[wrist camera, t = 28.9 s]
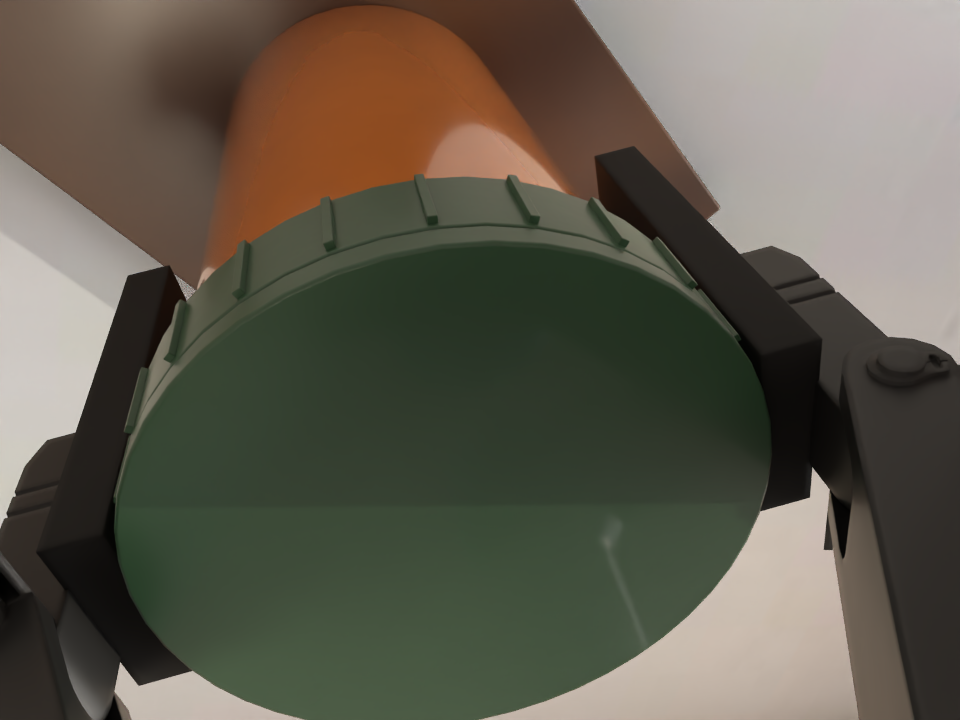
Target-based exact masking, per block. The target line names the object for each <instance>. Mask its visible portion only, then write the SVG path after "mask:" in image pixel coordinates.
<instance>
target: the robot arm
mask: <svg viewBox="0 0 960 720" xmlns="http://www.w3.org/2000/svg"><path fill="white" fill-rule="evenodd" d="M594 157H595V166H596V176H597V185H598V195H599V201H600V202H601V204H602V205H603V206H604V208H605V209H606V210H607V211H608V212H610V213H612V214H614V215H616V216H618V217H619V218H621V219H623V220H625V221H626V222H628V223H629V224H630V225H632V226H633V227H634V228H636V229H637V230H638V231H640V232H641V233H642V234H644V235H645V236H646V237H648V238H649V239H650V240H652V241H653V240H654V239H655V238H656V237H658V238H659V239H660V240H661V241H662V242H663V243H664V244H665V245H666V246H667V248H668V249H669V250H670V251H671V252H672V254H673V255H674V256H675V257H676V259H677V260H678V261H679V262H680V263H681V265H682V266H683V267H684V268H685V269H686V271H687V272H688V273H689V274H690V275H691V277H692V278H693V279H694V280H695V281H696V283H697V284H698V285H697V286H696V287H695V289H696V290H699V289H701V290H702V291H703V292H704V293H705V295H706V296H707V297H708V298H709V300H710V301H711V302H712V303H713V304H714V306H715V307H716V308H717V309H718V310H719V312H720V313H721V314H722V315H723V316H724V318H725V319H726V320H727V321H728V323H729V324H730V325H731V326H732V327H733V329H734V330H735V331H736V332H737V333H738V335H739V337H740V339H741V340H740V341H738V343H739V345H740V346H741V348H742V349H743V351H744V352H745V354H746V355H747V357H748V358H749V360H750V361H751V363H752V365H753V368H754V370H755V372H756V375H757V377H758V379H759V382H760V384H761V386H762V389H763V391H764V395H765V399H766V404H767V408H768V413H769V417H770V422H771V444H772V457H771V465H770V473H769V480H768V486H767V489H766V493H765V496H764V499H763V503H762V506H761V510H760V511H763V510H767V509H770V508H774V507H777V506H781V505H785V504H788V503H792V502H795V501H799V500H802V499H806V498H810V488H811V476H812V467H813V468H814V470H815V471H816V472H817V474H818V475H819V476H820V477H821V479H822V480H823V481H824V483H825V484H826V485H827V486H828V488H829V489H830V493H829V503H828V513H827V523H826V533H825V543H824V550H833V551H834V558H835V564H836V571H837V577H838V584H839V590H840V597H841V603H842V610H843V616H844V623H845V629H846V636H847V642H848V649H849V656H850V662H851V669H852V675H853V682H854V688H855V695H856V701H857V708H858V714H859V720H960V365H957V363H956V362H955V361H954V359H953V358H952V357H951V355H949V354H947V353H946V352H944V351H942V350H941V349H939V348H938V347H936V346H934V345H931V344H928V343H925V342H921V341H918V340H915V339H908V338H896V337H887V336H886V335H885V334H884V333H883V332H882V331H881V330H880V329H878V328H877V327H876V326H875V325H874V324H873V323H872V322H871V321H870V320H869V319H867V318H866V317H865V316H864V315H863V314H862V313H861V312H860V311H859V310H858V309H856V308H855V307H854V306H853V305H852V304H851V303H850V302H849V301H848V300H847V299H845V298H844V297H843V296H842V295H841V294H840V293H839V292H837V293H836V292H835V289H834V288H833V287H832V286H831V285H830V284H829V283H828V282H827V281H826V280H825V279H823V278H821V279H820V277H819V274H818V273H817V272H816V271H815V270H814V269H812V268H811V267H810V266H809V265H808V264H807V263H806V262H805V261H804V260H803V259H801V258H800V257H798V256H795V255H793V254H790V253H788V252H785V251H783V250H780V249H778V248H775V247H773V246H769V247H766V248H762V249H758V250H754V251H751V252H747V253H743V254H739V253H738V252H737V251H736V250H735V249H734V248H733V247H732V246H731V245H730V244H729V243H728V242H727V241H726V239H725V238H724V237H723V236H722V235H721V234H720V233H719V232H718V231H717V230H716V229H715V228H714V227H713V226H712V225H711V224H710V223H709V222H708V221H707V220H706V219H705V218H704V217H703V216H702V215H701V214H700V213H699V212H698V211H697V210H696V209H695V208H694V207H693V206H692V205H691V204H690V203H689V202H688V201H687V200H686V199H685V198H684V196H683V195H682V194H681V193H680V192H679V191H678V190H677V189H676V188H675V187H674V186H673V185H672V184H671V183H670V182H669V181H668V180H667V179H666V178H665V177H664V176H663V175H662V174H661V173H660V172H659V171H658V170H657V169H656V168H655V167H654V166H653V165H652V164H651V163H650V162H649V161H648V160H647V159H646V158H645V157H644V156H643V155H642V153H641V152H640V151H639V150H638V149H637V148H636V147H635V146H631V147H628V148H624V149H620V150H616V151H612V152H608V153H604V154H600V155H596V156H594ZM180 299H181V300H183V301H185V302H187V300H186V298H185V296H184V294H183V292H182V290H181V288H180V286H179V284H178V281H177V279H176V277H175V275H174V273H173V271H172V269H171V267H170V265H168V266H164V267H160V268H156V269H152V270H148V271H145V272H141V273H137V274H133V275H129V276H128V277H127V280H126V283H125V286H124V289H123V292H122V295H121V298H120V301H119V304H118V307H117V310H116V313H115V316H114V319H113V322H112V325H111V328H110V331H109V334H108V337H107V340H106V343H105V346H104V349H103V352H102V355H101V358H100V361H99V364H98V367H97V370H96V373H95V376H94V379H93V382H92V385H91V388H90V391H89V394H88V397H87V400H86V403H85V406H84V409H83V412H82V415H81V418H80V421H79V424H78V427H77V430H76V433H72V434H69V435H65V436H61V437H57V438H53V439H50V440H47V441H46V442H45V443H44V444H43V446H42V447H41V448H40V449H39V450H38V451H37V453H36V454H35V455H34V456H33V457H32V459H31V460H30V461H29V462H28V463H27V464H26V466H25V467H24V470H23V472H22V475H21V477H20V480H19V482H18V485H17V488H16V490H15V494H16V497H13V498H12V500H11V503H10V505H9V508H8V511H7V516H8V517H7V518H5V519H4V521H3V523H2V526H1V528H0V720H131V717H130V714H129V711H128V709H127V708H126V706H125V705H124V704H123V702H122V701H121V699H120V698H119V697H118V696H117V695H116V693H115V692H114V690H115V685H116V680H117V675H118V670H119V665H120V662H121V663H122V665H123V666H124V667H125V669H126V670H127V671H128V673H129V674H130V675H131V676H132V678H133V679H134V680H135V682H136V683H137V684H138V685H139V686H140V685H143V684H147V683H151V682H154V681H158V680H161V679H165V678H168V677H172V676H176V675H179V674H183V673H186V672H190V671H192V670H191V669H189V668H188V667H187V666H186V665H185V664H184V663H183V662H181V661H180V660H179V659H178V658H177V657H176V656H175V655H174V654H172V653H171V652H170V651H169V650H168V649H167V648H166V647H165V646H164V645H163V644H162V643H161V641H160V640H159V639H158V638H157V636H156V635H155V634H154V633H153V632H152V630H151V629H150V628H149V627H148V625H147V624H146V623H145V621H144V620H143V618H142V616H141V614H140V613H139V611H138V609H137V607H136V605H135V604H134V602H133V600H132V598H131V597H130V595H129V592H128V589H127V586H126V583H125V580H124V577H123V574H122V571H121V569H120V566H119V563H118V556H117V549H116V541H115V534H114V520H115V504H116V503H114V498H113V497H114V493H115V489H116V485H117V481H118V477H119V473H120V469H121V465H122V462H123V458H124V454H125V450H126V446H127V442H128V438H129V436H130V435H131V434H130V433H125V432H124V429H125V425H126V421H127V417H128V414H129V410H130V406H131V402H132V399H133V395H134V391H135V388H136V384H137V380H138V376H139V373H140V370H141V368H142V367H143V368H147V369H148V368H149V366H150V364H151V362H152V360H153V357H154V355H155V353H156V351H157V348H158V346H159V344H160V342H161V340H162V337H163V335H164V334H165V332H166V331H167V329H168V328H169V326H170V325H171V323H172V319H173V314H174V310H175V306H176V304H177V303H178V301H179V300H180Z"/></svg>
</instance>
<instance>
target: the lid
mask: <svg viewBox="0 0 960 720" xmlns="http://www.w3.org/2000/svg"><path fill="white" fill-rule="evenodd" d="M697 285H698V284H697V283H696V281H695V280H694V279H693V278H692V277H691V275H690V274H689V273H688V272H687V271H686V269H685V268H684V267H683V266H682V265H681V263H680V262H679V261H678V260H677V259H676V257H675V256H674V255H673V254H672V252H671V251H670V250H669V249H668V248H667V246H666V245H665V244H664V243H663V242H662V241H661V240H660V239H659V238H658V237H656V238H655V239H654V240H653V241H652V240H650V239H649V238H648V237H646V236H645V235H644V234H642V233H641V232H640V231H638V230H637V229H636V228H634V227H633V226H632V225H630V224H629V223H628V222H626V221H625V220H623V219H621V218H619V217H618V216H616V215H614V214H612V213H610V212H608V211H607V210H606V209H605V208H604V206H603V205H602V204H601V202H600V201H599V200H598V199H596V198H594V197H591V198H590V200H589V201H586V200H583V199H580V198H577V197H575V196H572V195H569V194H566V193H563V192H560V191H558V190H555V189H552V188H547V187H542V186H538V185H533V184H528V183H523V182H520V181H519V179H518V177H517V176H516V175H508V176H507V180H506V179H493V178H479V177H447V178H428V179H425V177H424V174H415V175H414V180H410V181H405V182H399V183H394V184H388V185H383V186H377V187H372V188H369V189H366V190H362V191H359V192H356V193H353V194H350V195H346V196H343V197H340V198H337V199H334V200H331V199H330V197H329V196H326V197H324V198H321V199H320V205H318V206H316V207H314V208H312V209H310V210H307V211H305V212H303V213H301V214H299V215H297V216H294V217H292V218H290V219H288V220H286V221H284V222H282V223H281V224H279V225H277V226H276V227H274V228H272V229H271V230H269V231H268V232H266V233H264V234H263V235H261V236H260V237H258V238H256V239H255V240H253V241H252V242H250V243H248V242H247V241H246V240H243V241H242V242H240V243H239V244H238V245H237V253H236V254H235V255H233V256H232V257H231V258H230V259H229V260H227V261H226V262H225V263H224V264H223V265H221V266H220V267H219V268H218V269H216V270H215V271H214V272H213V273H212V274H211V275H210V276H209V277H208V278H207V279H206V281H205V282H204V283H203V284H202V285H201V286H200V287H199V288H198V289H197V290H196V292H195V293H194V294H193V295H192V296H191V297H190V298H189V299H188V300H187V302H185V301H183V300H181V299H180V300H179V301H178V303H177V304H176V306H175V310H174V314H173V319H172V323H171V325H170V326H169V328H168V329H167V331H166V332H165V334H164V335H163V337H162V340H161V342H160V344H159V346H158V348H157V351H156V353H155V355H154V357H153V360H152V362H151V364H150V366H149V368H148V369H147V368H143V367H142V368H141V370H140V373H139V376H138V380H137V384H136V388H135V391H134V395H133V399H132V402H131V406H130V410H129V414H128V417H127V421H126V425H125V429H124V432H125V433H130V434H131V435H130V436H129V438H128V442H127V446H126V450H125V454H124V458H123V462H122V465H121V469H120V473H119V477H118V481H117V485H116V489H115V493H114V497H113V498H114V503H116V504H115V520H114V534H115V541H116V549H117V556H118V563H119V566H120V569H121V571H122V574H123V577H124V580H125V583H126V586H127V589H128V592H129V595H130V597H131V598H132V600H133V602H134V604H135V605H136V607H137V609H138V611H139V613H140V614H141V616H142V618H143V620H144V621H145V623H146V624H147V625H148V627H149V628H150V629H151V630H152V632H153V633H154V634H155V635H156V636H157V638H158V639H159V640H160V641H161V643H162V644H163V645H164V646H165V647H166V648H167V649H168V650H169V651H170V652H171V653H172V654H174V655H175V656H176V657H177V658H178V659H179V660H180V661H181V662H183V663H184V664H185V665H186V666H187V667H188V668H189V669H191V670H192V671H194V672H195V673H197V674H198V675H200V676H201V677H203V678H204V679H206V680H207V681H209V682H210V683H212V684H213V685H215V686H217V687H218V688H220V689H222V690H224V691H226V692H228V693H230V694H232V695H234V696H236V697H238V698H240V699H242V700H244V701H247V702H250V703H252V704H255V705H258V706H261V707H263V708H266V709H269V710H271V711H274V712H277V713H281V714H285V715H289V716H293V717H297V718H301V719H304V720H479V719H484V718H488V717H492V716H496V715H500V714H504V713H509V712H513V711H516V710H519V709H522V708H525V707H528V706H532V705H535V704H538V703H541V702H544V701H547V700H549V699H552V698H554V697H557V696H559V695H562V694H564V693H567V692H569V691H572V690H574V689H577V688H579V687H581V686H583V685H585V684H587V683H589V682H591V681H593V680H595V679H597V678H599V677H601V676H603V675H605V674H607V673H609V672H611V671H612V670H614V669H616V668H617V667H619V666H621V665H622V664H624V663H626V662H628V661H629V660H631V659H633V658H634V657H636V656H637V655H639V654H640V653H642V652H643V651H644V650H646V649H647V648H649V647H650V646H651V645H653V644H654V643H656V642H657V641H658V640H660V639H661V638H663V637H664V636H665V635H666V634H668V633H669V632H670V631H671V630H672V629H673V628H675V627H676V626H677V625H678V624H679V623H680V622H682V621H683V620H684V619H685V618H686V617H687V616H689V615H690V614H691V613H692V611H693V610H694V609H695V608H696V607H697V606H698V605H699V604H700V603H701V602H702V601H703V600H704V599H705V598H706V597H707V596H708V595H709V594H710V593H711V592H712V590H713V589H714V588H715V587H716V585H717V584H718V583H719V582H720V580H721V579H722V578H723V576H724V575H725V574H726V573H727V571H728V570H729V569H730V567H731V566H732V564H733V563H734V561H735V559H736V558H737V556H738V555H739V553H740V551H741V550H742V548H743V546H744V545H745V543H746V541H747V540H748V537H749V535H750V533H751V531H752V528H753V526H754V524H755V522H756V520H757V517H758V515H759V513H760V510H761V506H762V503H763V499H764V496H765V493H766V489H767V486H768V480H769V473H770V465H771V457H772V444H771V422H770V417H769V413H768V408H767V404H766V399H765V395H764V391H763V389H762V386H761V384H760V382H759V379H758V377H757V375H756V372H755V370H754V368H753V365H752V363H751V361H750V360H749V358H748V357H747V355H746V354H745V352H744V351H743V349H742V348H741V346H740V345H739V343H738V341H740V340H741V339H740V337H739V335H738V333H737V332H736V331H735V330H734V329H733V327H732V326H731V325H730V324H729V323H728V321H727V320H726V319H725V318H724V316H723V315H722V314H721V313H720V312H719V310H718V309H717V308H716V307H715V306H714V304H713V303H712V302H711V301H710V300H709V298H708V297H707V296H706V295H705V293H704V292H703V291H702V290H701V289H699V290H696V289H695V287H696V286H697Z"/></svg>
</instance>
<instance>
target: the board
mask: <svg viewBox="0 0 960 720" xmlns="http://www.w3.org/2000/svg"><path fill="white" fill-rule="evenodd" d="M352 5H379V6H389V7H395V8H399V9H403V10H407V11H411V12H414V13H417V14H419V15H422V16H424V17H427V18H429V19H432V20H433V21H435V22H437V23H439V24H440V25H442V26H444V27H446V28H447V29H449V30H450V31H452V32H453V33H454V34H455V35H457V36H458V37H459V38H461V39H462V40H463V41H464V42H465V43H466V44H467V45H468V46H469V47H470V48H471V49H472V50H473V51H474V52H475V53H476V54H477V55H478V56H479V58H480V59H481V60H482V62H483V63H484V64H485V66H486V67H487V68H488V70H489V71H490V73H491V74H492V75H493V77H494V78H495V79H496V81H497V82H498V84H499V85H500V86H501V88H502V89H503V91H504V92H505V93H506V95H507V96H508V97H509V99H510V100H511V102H512V103H513V104H514V106H515V107H516V109H517V110H518V111H519V113H520V114H521V116H522V117H523V118H524V120H525V121H526V122H527V124H528V125H529V127H530V128H531V129H532V131H533V132H534V134H535V135H536V136H537V138H538V139H539V140H540V142H541V143H542V145H543V146H544V147H545V149H546V150H547V152H548V153H549V154H550V156H551V157H552V159H553V160H554V161H555V163H556V164H557V165H558V167H559V168H560V170H561V171H562V172H563V174H564V175H565V177H566V178H567V179H568V181H569V182H570V183H571V185H572V186H573V188H574V189H575V190H576V192H577V193H578V195H579V196H580V197H581V199H583V200H586V201H589V200H590V198H591V197H594V198H596V199H598V200H599V195H598V185H597V176H596V166H595V157H594V156H596V155H600V154H604V153H608V152H612V151H616V150H620V149H624V148H628V147H631V146H635V147H636V148H637V149H638V150H639V151H640V152H641V153H642V155H643V156H644V157H645V158H646V159H647V160H648V161H649V162H650V163H651V164H652V165H653V166H654V167H655V168H656V169H657V170H658V171H659V172H660V173H661V174H662V175H663V176H664V177H665V178H666V179H667V180H668V181H669V182H670V183H671V184H672V185H673V186H674V187H675V188H676V189H677V190H678V191H679V192H680V193H681V194H682V195H683V196H684V198H685V199H686V200H687V201H688V202H689V203H690V204H691V205H692V206H693V207H694V208H695V209H696V210H697V211H698V212H699V213H700V214H701V215H702V216H703V217H704V218H705V219H706V220H707V219H708V218H709V217H711V216H712V215H713V214H714V213H716V212H717V211H718V210H719V209H720V206H719V204H718V203H717V202H716V200H715V199H714V197H713V196H712V195H711V193H710V192H709V190H708V189H707V187H706V186H705V185H704V183H703V182H702V180H701V179H700V178H699V176H698V175H697V173H696V172H695V171H694V169H693V168H692V166H691V165H690V163H689V162H688V161H687V159H686V158H685V156H684V155H683V154H682V152H681V151H680V149H679V148H678V147H677V145H676V144H675V142H674V141H673V139H672V138H671V137H670V135H669V134H668V132H667V131H666V130H665V128H664V127H663V125H662V124H661V123H660V121H659V120H658V118H657V117H656V115H655V114H654V113H653V111H652V110H651V108H650V107H649V106H648V104H647V103H646V101H645V100H644V98H643V97H642V96H641V94H640V93H639V91H638V90H637V89H636V87H635V86H634V84H633V83H632V82H631V80H630V79H629V77H628V76H627V74H626V73H625V72H624V70H623V69H622V67H621V66H620V65H619V63H618V62H617V60H616V59H615V58H614V56H613V55H612V53H611V52H610V50H609V49H608V48H607V46H606V45H605V43H604V42H603V41H602V39H601V38H600V36H599V35H598V34H597V32H596V31H595V29H594V28H593V26H592V25H591V24H590V22H589V21H588V19H587V18H586V17H585V15H584V14H583V12H582V11H581V10H580V8H579V7H578V5H577V4H576V2H575V1H574V0H0V144H2V145H3V146H4V147H6V148H7V149H8V150H10V151H11V152H12V153H14V154H15V155H16V156H18V157H19V158H20V159H22V160H23V161H24V162H26V163H27V164H28V165H30V166H31V167H32V168H34V169H35V170H36V171H38V172H39V173H40V174H42V175H43V176H44V177H46V178H47V179H48V180H50V181H51V182H52V183H54V184H55V185H56V186H58V187H59V188H60V189H62V190H63V191H64V192H66V193H67V194H68V195H70V196H71V197H72V198H74V199H75V200H77V201H78V202H79V203H81V204H82V205H83V206H85V207H86V208H87V209H89V210H90V211H91V212H93V213H94V214H95V215H97V216H98V217H99V218H101V219H102V220H103V221H105V222H106V223H107V224H109V225H110V226H111V227H113V228H114V229H115V230H117V231H118V232H119V233H121V234H122V235H123V236H125V237H126V238H127V239H129V240H130V241H131V242H133V243H134V244H135V245H137V246H138V247H139V248H141V249H142V250H143V251H145V252H146V253H147V254H149V255H150V256H151V257H153V258H154V259H155V260H157V261H158V262H159V263H161V264H162V265H163V266H168V265H170V267H171V269H172V271H173V273H174V274H175V275H177V276H178V277H179V278H181V279H182V280H183V281H185V282H186V283H187V284H189V285H190V286H191V287H193V288H194V289H196V290H197V287H198V282H199V276H200V271H201V265H202V260H203V254H204V249H205V244H206V238H207V233H208V227H209V222H210V216H211V211H212V206H213V200H214V195H215V189H216V184H217V178H218V173H219V168H220V162H221V157H222V151H223V146H224V140H225V135H226V129H227V124H228V119H229V114H230V110H231V107H232V103H233V99H234V96H235V94H236V92H237V89H238V87H239V84H240V82H241V80H242V78H243V77H244V75H245V73H246V72H247V70H248V68H249V67H250V65H251V64H252V62H253V61H254V60H255V59H256V57H257V56H258V55H259V54H260V53H261V51H262V50H263V49H264V48H265V47H266V46H267V45H268V44H269V43H270V42H272V41H273V40H274V39H275V38H276V37H277V36H278V35H280V34H281V33H283V32H284V31H285V30H287V29H288V28H290V27H291V26H293V25H294V24H296V23H298V22H300V21H302V20H304V19H306V18H308V17H310V16H313V15H315V14H318V13H322V12H325V11H328V10H331V9H335V8H341V7H347V6H352Z"/></svg>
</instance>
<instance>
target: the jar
mask: <svg viewBox="0 0 960 720" xmlns="http://www.w3.org/2000/svg"><path fill="white" fill-rule="evenodd" d="M415 174H424V177H425V179H428V178H447V177H479V178H493V179H506V180H507V176H508V175H516V176H517V177H518V179H519V181H520V182H523V183H528V184H533V185H538V186H542V187H547V188H552V189H555V190H558V191H560V192H563V193H566V194H569V195H572V196H575V197H577V198H580V199H581V197H580V196H579V195H578V193H577V192H576V190H575V189H574V188H573V186H572V185H571V183H570V182H569V181H568V179H567V178H566V177H565V175H564V174H563V172H562V171H561V170H560V168H559V167H558V165H557V164H556V163H555V161H554V160H553V159H552V157H551V156H550V154H549V153H548V152H547V150H546V149H545V147H544V146H543V145H542V143H541V142H540V140H539V139H538V138H537V136H536V135H535V134H534V132H533V131H532V129H531V128H530V127H529V125H528V124H527V122H526V121H525V120H524V118H523V117H522V116H521V114H520V113H519V111H518V110H517V109H516V107H515V106H514V104H513V103H512V102H511V100H510V99H509V97H508V96H507V95H506V93H505V92H504V91H503V89H502V88H501V86H500V85H499V84H498V82H497V81H496V79H495V78H494V77H493V75H492V74H491V73H490V71H489V70H488V68H487V67H486V66H485V64H484V63H483V62H482V60H481V59H480V58H479V56H478V55H477V54H476V53H475V52H474V51H473V50H472V49H471V48H470V47H469V46H468V45H467V44H466V43H465V42H464V41H463V40H462V39H461V38H459V37H458V36H457V35H455V34H454V33H453V32H452V31H450V30H449V29H447V28H446V27H444V26H442V25H440V24H439V23H437V22H435V21H433V20H432V19H429V18H427V17H424V16H422V15H419V14H417V13H414V12H411V11H407V10H403V9H399V8H395V7H389V6H379V5H352V6H347V7H341V8H335V9H331V10H328V11H325V12H322V13H318V14H315V15H313V16H310V17H308V18H306V19H304V20H302V21H300V22H298V23H296V24H294V25H293V26H291V27H290V28H288V29H287V30H285V31H284V32H283V33H281V34H280V35H278V36H277V37H276V38H275V39H274V40H273V41H272V42H270V43H269V44H268V45H267V46H266V47H265V48H264V49H263V50H262V51H261V53H260V54H259V55H258V56H257V57H256V59H255V60H254V61H253V62H252V64H251V65H250V67H249V68H248V70H247V72H246V73H245V75H244V77H243V78H242V80H241V82H240V84H239V87H238V89H237V92H236V94H235V96H234V99H233V103H232V107H231V110H230V114H229V119H228V124H227V129H226V135H225V140H224V146H223V151H222V157H221V162H220V168H219V173H218V178H217V184H216V189H215V195H214V200H213V206H212V211H211V216H210V222H209V227H208V233H207V238H206V244H205V249H204V254H203V260H202V265H201V271H200V276H199V282H198V287H197V289H198V288H199V287H200V286H201V285H202V284H203V283H204V282H205V281H206V279H207V278H208V277H209V276H210V275H211V274H212V273H213V272H214V271H215V270H216V269H218V268H219V267H220V266H221V265H223V264H224V263H225V262H226V261H227V260H229V259H230V258H231V257H232V256H233V255H235V254H236V253H237V245H238V244H239V243H240V242H242V241H243V240H246V241H247V242H248V243H250V242H252V241H253V240H255V239H256V238H258V237H260V236H261V235H263V234H264V233H266V232H268V231H269V230H271V229H272V228H274V227H276V226H277V225H279V224H281V223H282V222H284V221H286V220H288V219H290V218H292V217H294V216H297V215H299V214H301V213H303V212H305V211H307V210H310V209H312V208H314V207H316V206H318V205H320V199H321V198H324V197H326V196H329V197H330V199H331V200H334V199H337V198H340V197H343V196H346V195H350V194H353V193H356V192H359V191H362V190H366V189H369V188H372V187H377V186H383V185H388V184H394V183H399V182H405V181H410V180H414V175H415Z"/></svg>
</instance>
